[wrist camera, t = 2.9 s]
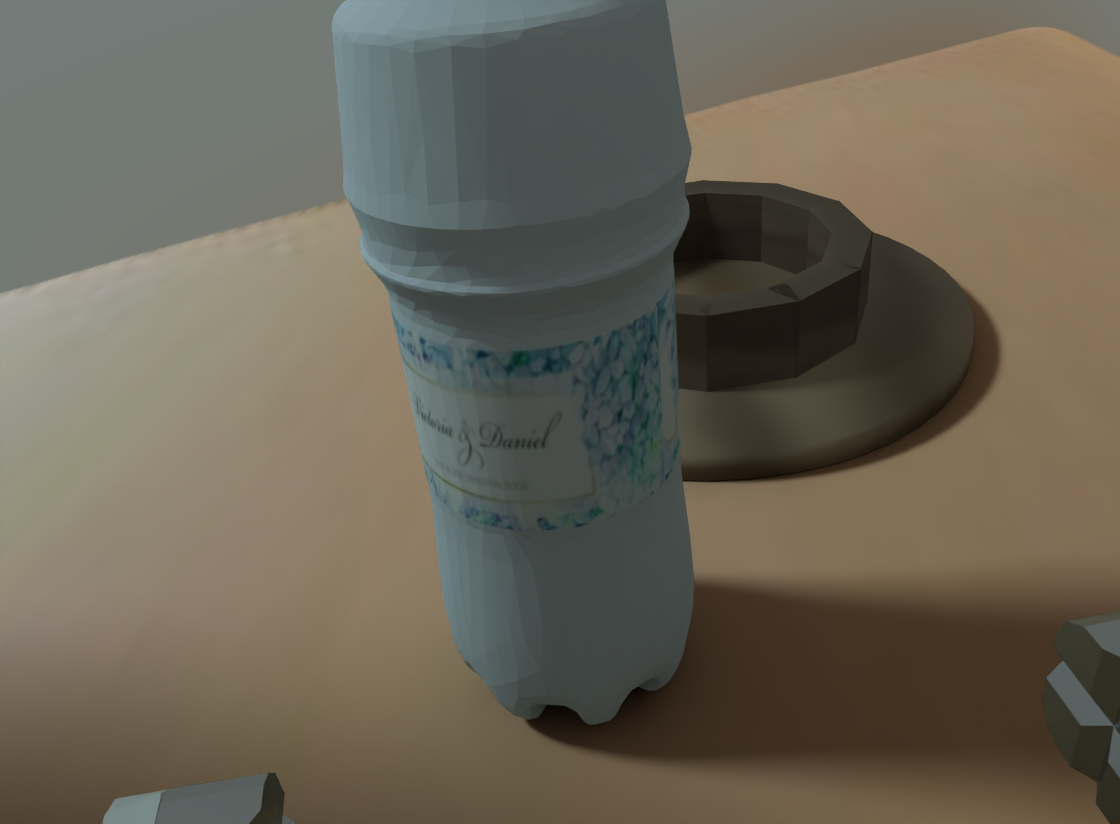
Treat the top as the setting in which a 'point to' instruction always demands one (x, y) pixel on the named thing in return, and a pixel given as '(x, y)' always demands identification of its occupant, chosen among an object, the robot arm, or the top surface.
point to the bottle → (534, 322)
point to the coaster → (839, 388)
